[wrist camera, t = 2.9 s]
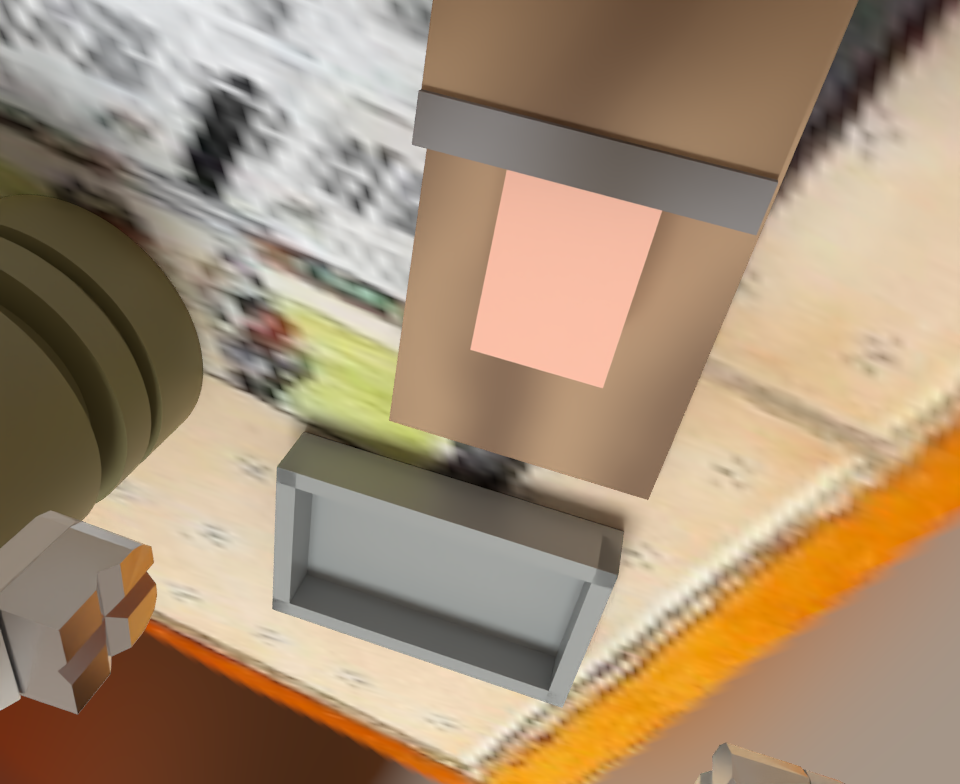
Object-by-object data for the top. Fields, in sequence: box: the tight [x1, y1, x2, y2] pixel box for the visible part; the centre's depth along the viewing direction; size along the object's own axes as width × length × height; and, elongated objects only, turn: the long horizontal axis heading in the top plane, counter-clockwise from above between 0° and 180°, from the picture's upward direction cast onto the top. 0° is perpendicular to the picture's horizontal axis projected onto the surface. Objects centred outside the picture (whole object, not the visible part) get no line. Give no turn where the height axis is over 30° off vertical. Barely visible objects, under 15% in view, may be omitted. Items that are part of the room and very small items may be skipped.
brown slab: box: [389, 0, 858, 500], centre depth 20 cm, size 10×22×6 cm, turn 169°
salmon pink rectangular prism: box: [470, 170, 662, 388], centre depth 20 cm, size 4×10×3 cm, turn 169°
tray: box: [272, 432, 624, 707], centre depth 32 cm, size 14×9×2 cm, turn 79°
